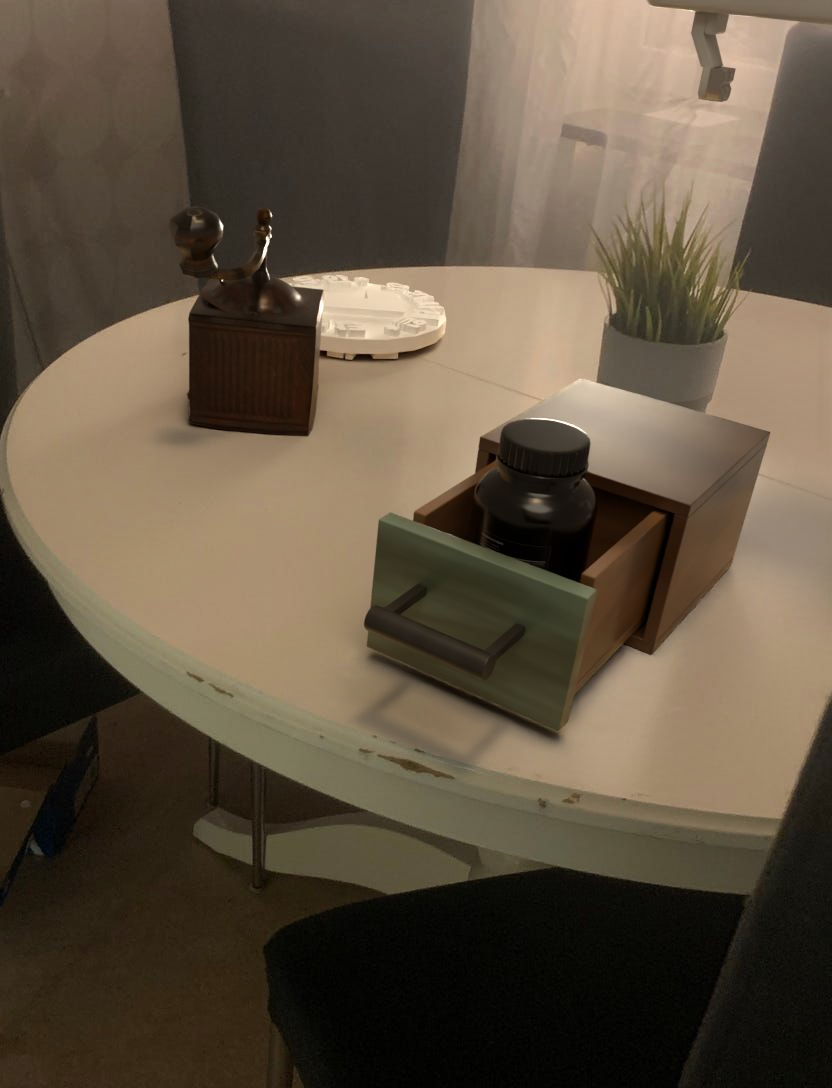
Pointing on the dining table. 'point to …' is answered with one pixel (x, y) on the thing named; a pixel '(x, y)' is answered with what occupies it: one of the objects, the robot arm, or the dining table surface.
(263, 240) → the coffee grinder
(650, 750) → the dining table surface
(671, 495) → the cabinet
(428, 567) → the drawer
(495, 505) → the supplement bottle
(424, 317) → the white wall clock
